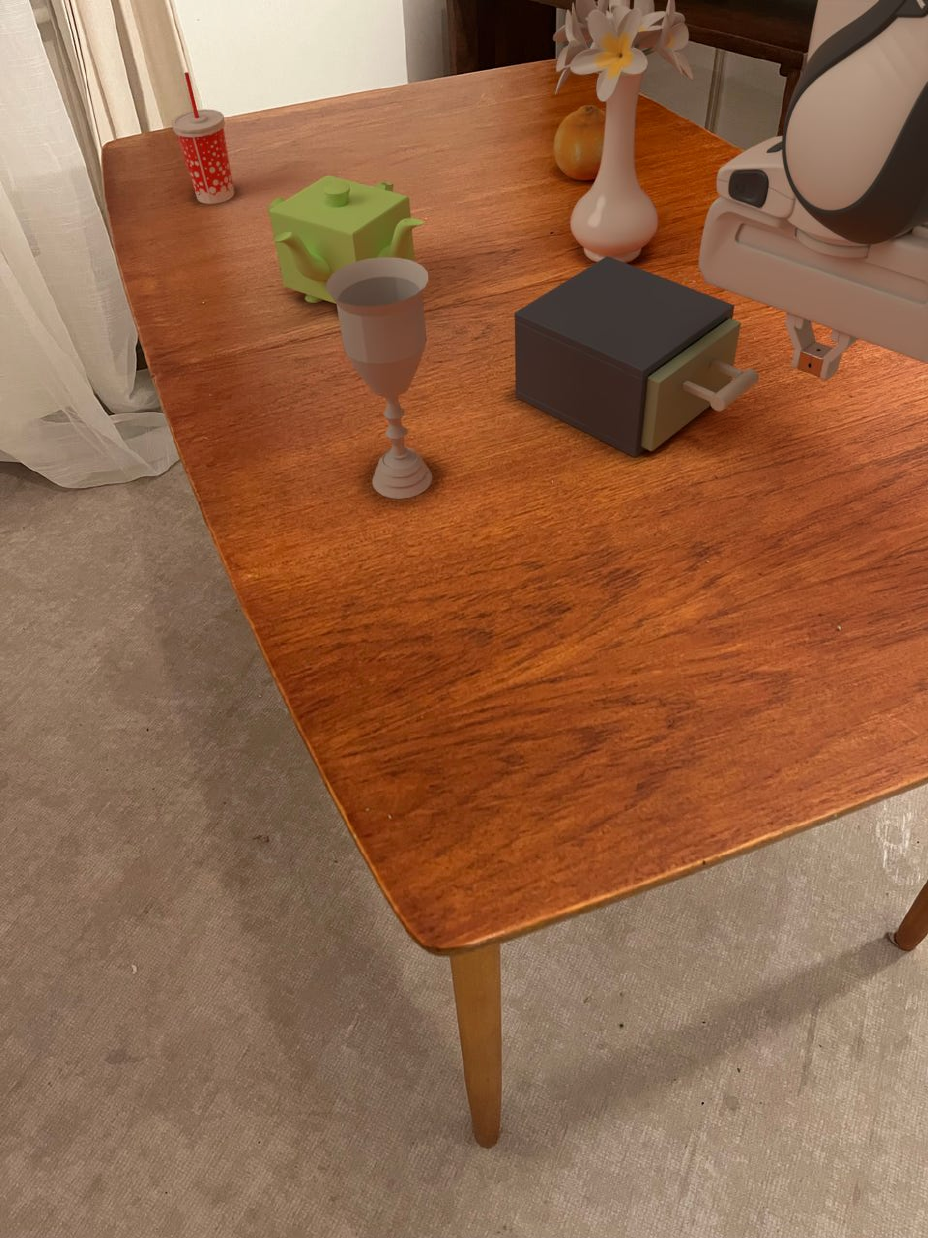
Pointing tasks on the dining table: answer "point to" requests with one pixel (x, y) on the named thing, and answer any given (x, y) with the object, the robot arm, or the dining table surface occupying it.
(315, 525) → the dining table surface
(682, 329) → the cabinet
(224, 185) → the beverage cup
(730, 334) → the drawer
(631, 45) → the flower vase
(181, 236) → the dining table surface
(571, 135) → the fruit
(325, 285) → the kettle
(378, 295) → the chalice
